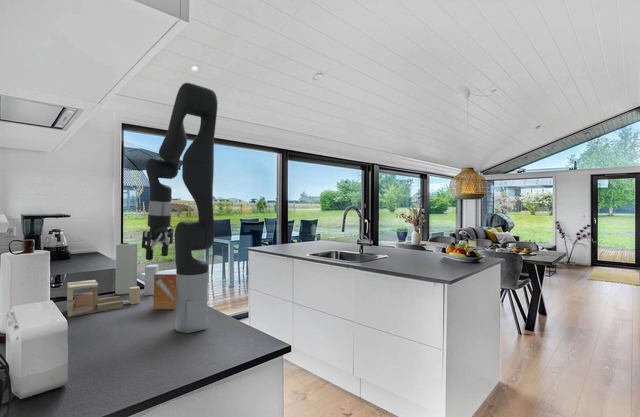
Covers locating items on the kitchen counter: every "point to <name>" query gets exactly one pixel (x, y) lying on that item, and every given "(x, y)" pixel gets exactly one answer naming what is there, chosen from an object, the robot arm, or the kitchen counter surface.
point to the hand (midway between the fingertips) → (157, 257)
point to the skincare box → (150, 279)
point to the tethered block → (87, 297)
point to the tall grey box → (126, 267)
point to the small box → (165, 290)
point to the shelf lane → (98, 304)
